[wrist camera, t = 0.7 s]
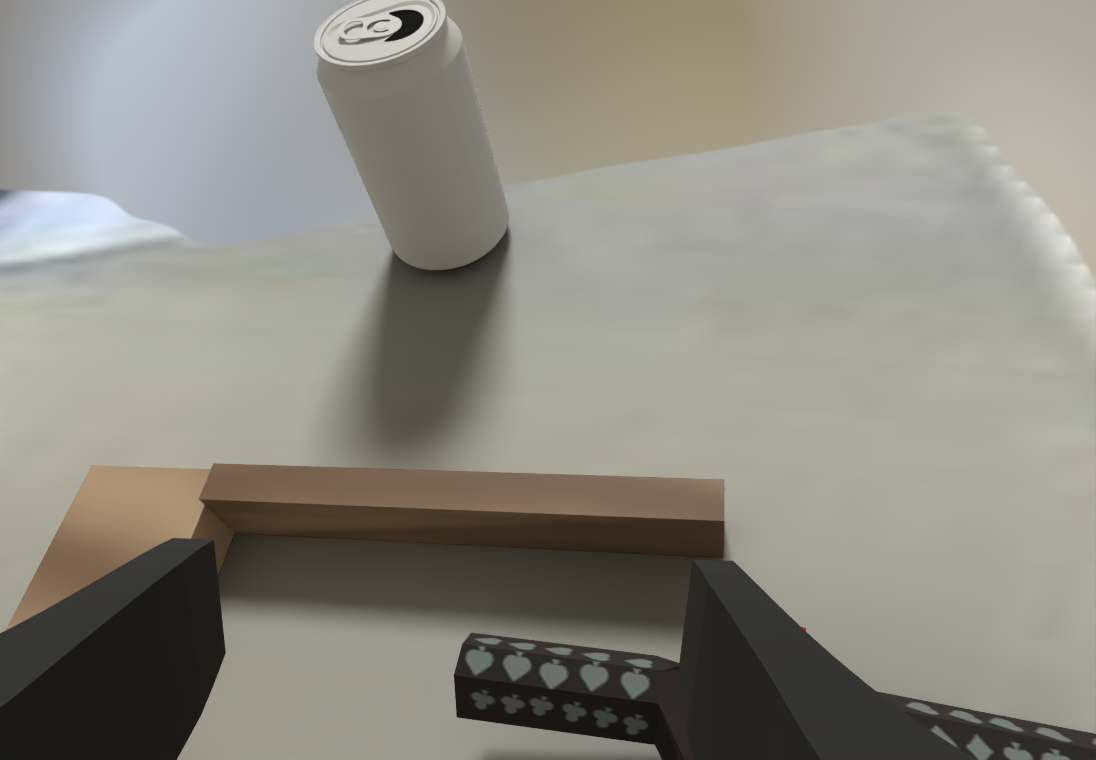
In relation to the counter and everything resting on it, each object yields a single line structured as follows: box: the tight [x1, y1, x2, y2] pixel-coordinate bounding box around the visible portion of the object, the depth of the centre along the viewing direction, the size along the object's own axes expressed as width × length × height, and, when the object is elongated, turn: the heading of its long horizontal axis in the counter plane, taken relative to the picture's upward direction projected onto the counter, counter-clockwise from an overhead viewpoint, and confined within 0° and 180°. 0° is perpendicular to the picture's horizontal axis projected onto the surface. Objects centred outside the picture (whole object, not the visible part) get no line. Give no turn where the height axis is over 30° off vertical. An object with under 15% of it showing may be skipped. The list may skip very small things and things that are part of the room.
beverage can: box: [314, 0, 509, 270], centre depth 38 cm, size 6×6×12 cm
